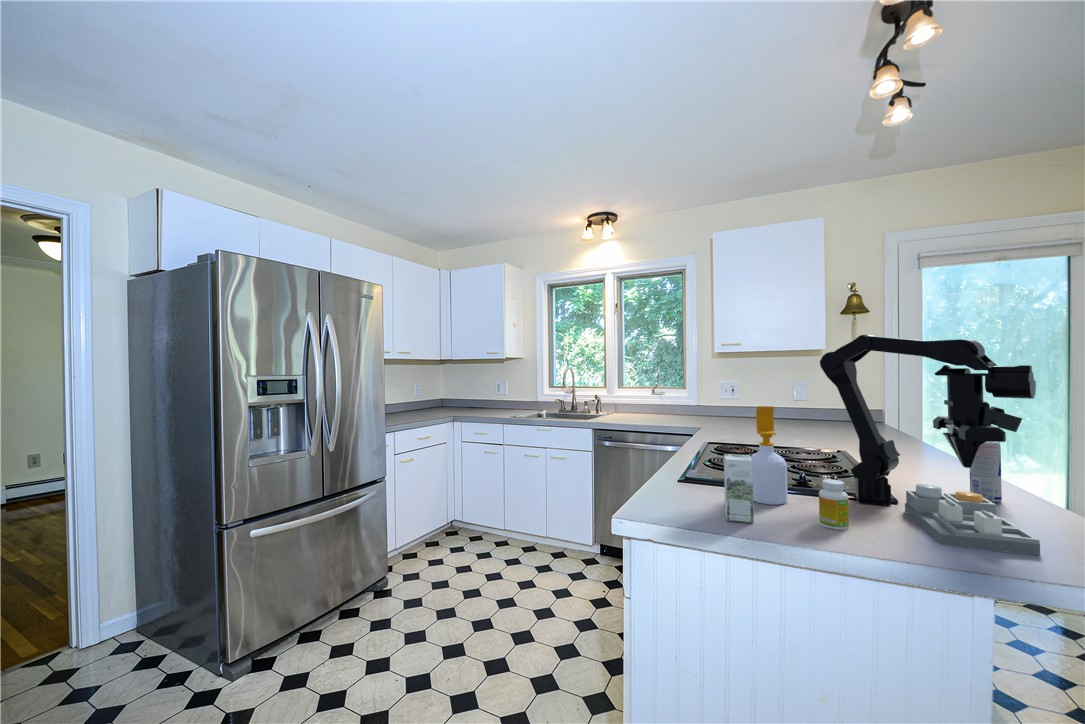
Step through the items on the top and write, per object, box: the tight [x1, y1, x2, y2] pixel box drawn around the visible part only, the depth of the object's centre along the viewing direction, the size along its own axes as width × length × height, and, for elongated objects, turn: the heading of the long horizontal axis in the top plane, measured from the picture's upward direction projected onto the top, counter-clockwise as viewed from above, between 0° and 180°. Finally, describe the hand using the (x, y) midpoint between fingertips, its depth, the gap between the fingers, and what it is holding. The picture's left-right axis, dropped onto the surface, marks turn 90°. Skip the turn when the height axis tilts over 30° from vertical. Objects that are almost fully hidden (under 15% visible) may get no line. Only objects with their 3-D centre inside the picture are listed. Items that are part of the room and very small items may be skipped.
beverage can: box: [969, 441, 1003, 504], centre depth 111 cm, size 6×6×15 cm
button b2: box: [954, 490, 983, 503], centre depth 97 cm, size 4×4×3 cm
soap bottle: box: [750, 405, 789, 506], centre depth 115 cm, size 9×9×25 cm
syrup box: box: [723, 453, 754, 524], centre depth 103 cm, size 6×6×14 cm
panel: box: [904, 489, 1041, 556], centre depth 92 cm, size 14×20×5 cm
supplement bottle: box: [818, 478, 850, 531], centre depth 97 cm, size 5×5×10 cm
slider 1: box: [939, 499, 963, 522], centre depth 92 cm, size 2×4×4 cm, turn 157°
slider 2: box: [974, 510, 1002, 535], centre depth 86 cm, size 2×4×4 cm, turn 157°
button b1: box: [915, 483, 943, 500], centre depth 100 cm, size 4×4×3 cm
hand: (966, 467), depth 97 cm, fingers closed
